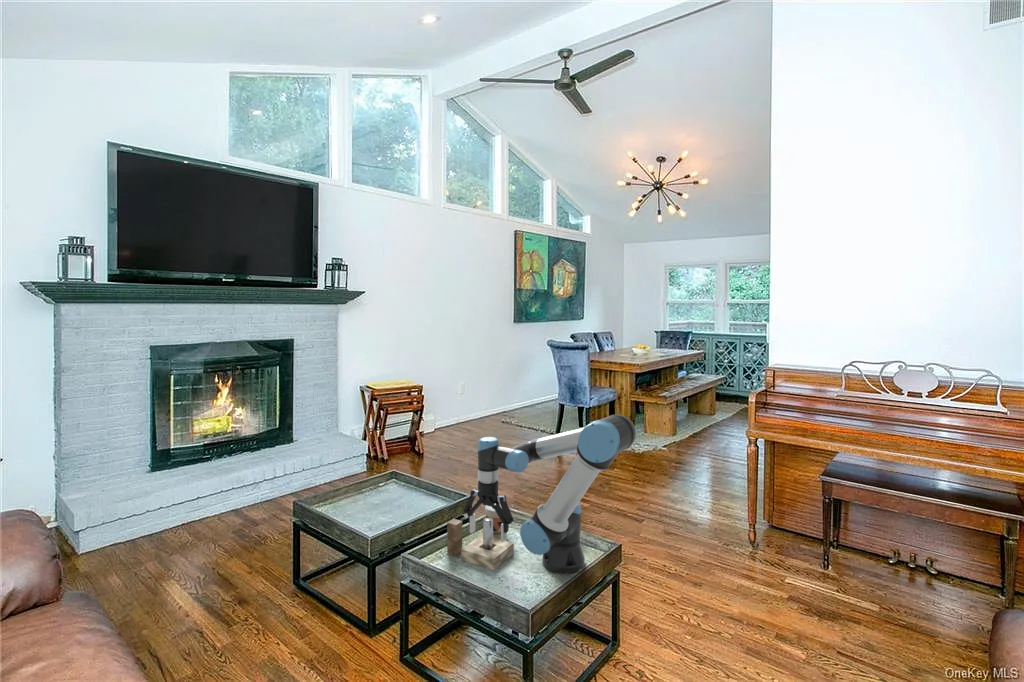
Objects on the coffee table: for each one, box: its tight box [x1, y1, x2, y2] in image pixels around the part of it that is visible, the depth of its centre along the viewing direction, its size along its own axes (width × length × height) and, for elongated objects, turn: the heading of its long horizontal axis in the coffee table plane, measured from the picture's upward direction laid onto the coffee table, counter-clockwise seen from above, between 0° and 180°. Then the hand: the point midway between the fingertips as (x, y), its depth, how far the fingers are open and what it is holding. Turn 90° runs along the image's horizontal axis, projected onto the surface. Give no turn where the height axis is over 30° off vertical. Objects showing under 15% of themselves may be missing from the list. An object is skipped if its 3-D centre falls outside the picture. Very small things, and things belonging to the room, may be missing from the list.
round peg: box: [482, 517, 493, 550], centre depth 193 cm, size 4×4×14 cm
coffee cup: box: [484, 503, 503, 539], centre depth 210 cm, size 9×9×12 cm
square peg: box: [446, 518, 463, 557], centre depth 196 cm, size 4×4×12 cm
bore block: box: [460, 533, 515, 571], centre depth 194 cm, size 14×14×4 cm
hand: (487, 536), depth 193 cm, fingers open, 13 cm apart
